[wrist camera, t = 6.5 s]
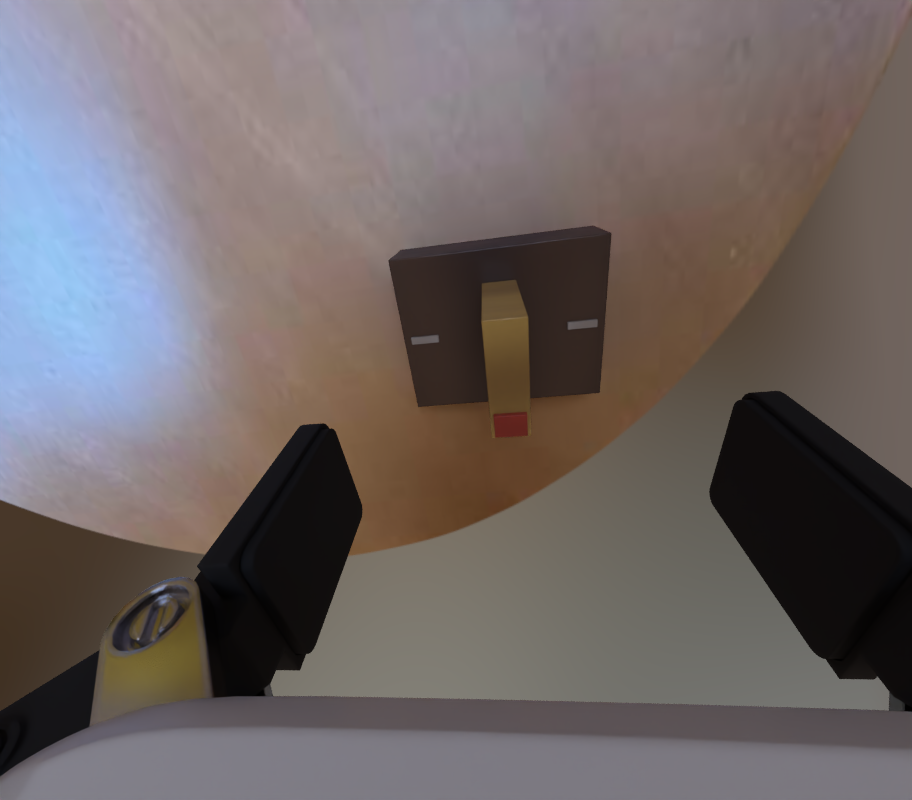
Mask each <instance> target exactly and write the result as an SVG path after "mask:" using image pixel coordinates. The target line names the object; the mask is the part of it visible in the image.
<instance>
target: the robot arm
mask: <svg viewBox="0 0 912 800" xmlns="http://www.w3.org/2000/svg"><path fill="white" fill-rule="evenodd" d="M709 492H710V499H711V502H712V504H713V506H714V507H715V509H716V510H717V512H718V513H719V515H720V516H721V518H722V519H723V520H724V522H725V523H726V525H727V526H728V528H729V529H730V531H731V532H732V534H733V535H734V537H735V538H736V540H737V541H738V543H739V544H740V546H741V547H742V548H743V550H744V551H745V553H746V554H747V556H748V557H749V559H750V560H751V562H752V563H753V565H754V566H755V567H756V569H757V571H758V572H759V573H760V575H761V576H762V578H763V579H764V581H765V582H766V584H767V585H768V587H769V588H770V590H771V591H772V593H773V594H774V595H775V597H776V598H777V600H778V601H779V603H780V604H781V606H782V607H783V609H784V610H785V612H786V613H787V614H788V616H789V617H790V619H791V620H792V622H793V623H794V625H795V626H796V628H797V629H798V631H799V632H800V634H801V635H802V636H803V638H804V640H805V641H806V643H807V644H808V645H809V647H810V648H811V649H812V651H813V652H814V653H815V654H816V655H818V656H819V657H821V658H823V659H826V660H827V662H828V663H829V665H830V666H831V667H832V669H833V670H834V672H835V673H836V674H837V676H838V677H839V679H875V678H876V677H877V676H878V677H879V679H880V680H881V681H882V682H883V683H884V685H885V686H886V688H887V689H888V690H889V711H884V710H857V709H824V708H791V707H757V706H756V707H754V706H721V705H689V704H651V703H611V702H610V703H609V702H569V701H528V700H527V701H526V700H487V699H438V698H384V697H334V696H333V697H332V696H331V697H330V696H273V694H272V690H271V686H270V683H271V681H272V678H273V676H274V674H275V671H276V670H300V669H301V666H302V663H303V661H304V658H305V655H306V654H309V653H310V652H312V650H313V649H314V647H315V645H316V642H317V640H318V637H319V634H320V631H321V629H322V626H323V623H324V620H325V618H326V615H327V612H328V609H329V606H330V603H331V601H332V598H333V595H334V592H335V590H336V587H337V584H338V581H339V578H340V576H341V573H342V571H343V568H344V565H345V562H346V559H347V557H348V554H349V551H350V548H351V546H352V543H353V540H354V537H355V535H356V532H357V529H358V526H359V523H360V521H361V518H362V504H361V501H360V498H359V495H358V492H357V490H356V487H355V484H354V481H353V479H352V476H351V473H350V470H349V467H348V465H347V462H346V459H345V456H344V453H343V451H342V448H341V445H340V442H339V440H338V437H337V434H336V432H335V430H334V429H329V427H328V426H327V425H326V424H324V423H323V424H309V425H302V426H300V427H299V428H298V429H297V431H296V432H295V434H294V435H293V436H292V438H291V439H290V440H289V442H288V443H287V444H286V446H285V447H284V448H283V450H282V451H281V453H280V454H279V455H278V457H277V458H276V459H275V461H274V462H273V463H272V465H271V466H270V468H269V469H268V470H267V472H266V473H265V474H264V476H263V477H262V478H261V480H260V481H259V483H258V484H257V485H256V487H255V488H254V489H253V491H252V492H251V493H250V495H249V496H248V497H247V499H246V500H245V502H244V503H243V504H242V506H241V507H240V508H239V510H238V511H237V512H236V514H235V515H234V517H233V518H232V519H231V521H230V522H229V523H228V525H227V526H226V527H225V529H224V530H223V532H222V533H221V534H220V536H219V537H218V538H217V540H216V541H215V542H214V544H213V545H212V546H211V548H210V549H209V551H208V552H207V553H206V555H205V556H204V557H203V559H202V560H201V561H200V563H199V564H198V566H197V567H198V568H199V569H200V571H201V572H200V573H199V574H198V576H197V577H196V579H195V580H194V581H193V580H192V579H190V578H186V577H177V578H172V579H168V580H165V581H162V582H160V583H158V584H155V585H153V586H151V587H150V588H148V589H146V590H145V591H143V592H142V593H140V594H138V595H137V596H136V597H135V598H134V599H133V600H131V601H130V602H129V603H128V604H126V605H125V606H124V607H123V608H122V609H121V610H120V612H119V613H118V614H117V615H116V616H115V617H114V618H113V620H112V621H111V623H110V624H109V626H108V627H107V629H106V630H105V632H104V635H103V638H102V641H101V644H100V650H99V651H97V652H96V653H94V654H93V655H91V656H89V657H88V658H86V659H84V660H83V661H81V662H79V663H78V664H76V665H75V666H73V667H71V668H70V669H68V670H66V671H65V672H63V673H62V674H60V675H58V676H57V677H55V678H53V679H52V680H50V681H49V682H47V683H45V684H44V685H42V686H40V687H39V688H37V689H36V690H34V691H33V692H31V693H29V694H27V695H26V696H24V697H23V698H21V699H19V700H18V701H16V702H14V703H13V704H11V705H10V706H8V707H6V708H5V709H3V710H1V711H0V800H912V488H911V487H910V486H908V485H907V484H906V483H904V482H903V481H902V480H900V479H899V478H898V477H896V476H895V475H894V474H892V473H891V472H889V471H888V470H887V469H885V468H884V467H883V466H881V465H880V464H879V463H877V462H876V461H875V460H873V459H872V458H870V457H869V456H868V455H867V454H865V453H864V452H863V451H861V450H860V449H859V448H857V447H856V446H854V445H853V444H852V443H850V442H849V441H848V440H846V439H845V438H844V437H842V436H841V435H840V434H838V433H837V432H836V431H834V430H833V429H832V428H830V427H829V426H827V425H826V424H825V423H823V422H822V421H821V420H819V419H818V418H817V417H815V416H814V415H813V414H811V413H810V412H809V411H807V410H806V409H805V408H803V407H802V406H801V405H799V404H798V403H796V402H795V401H794V400H793V399H791V398H790V397H788V396H787V395H786V394H784V393H782V392H780V391H770V392H756V393H748V394H746V395H745V396H744V397H743V398H742V400H739V401H737V402H736V403H735V404H734V407H733V410H732V414H731V417H730V420H729V424H728V428H727V431H726V435H725V438H724V441H723V445H722V448H721V452H720V455H719V459H718V462H717V466H716V469H715V473H714V476H713V479H712V483H711V486H710V491H709Z"/></svg>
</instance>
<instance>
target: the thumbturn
mask: <svg viewBox="0 0 912 800" xmlns="http://www.w3.org/2000/svg"><path fill="white" fill-rule="evenodd" d="M481 323H482V334H483V346H484V357H485V368H486V379H487V390H488V402H489V413H490V424H491V435H492V438H502V437H519V436H531V405H530V366H529V326H528V315H527V312H526V309H525V306H524V303H523V300H522V297H521V294H520V291H519V288H518V285H517V282H516V280H508V281H498V282H489V283H482V308H481Z"/></svg>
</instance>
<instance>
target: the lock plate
mask: <svg viewBox="0 0 912 800" xmlns="http://www.w3.org/2000/svg"><path fill="white" fill-rule="evenodd" d="M610 245H611V233H610V232H608V231H605V230H603V229H600V228H598V227H595V226H587V227H579V228H571V229H563V230H556V231H548V232H540V233H532V234H524V235H516V236H508V237H500V238H493V239H485V240H477V241H469V242H461V243H453V244H445V245H437V246H430V247H422V248H414V249H406V250H400V251H399V252H398V253H397V254H396V255H395V256H393V257H392V258H391V259H390V260H389V266H390V271H391V276H392V281H393V286H394V291H395V295H396V300H397V305H398V310H399V315H400V320H401V325H402V330H403V334H404V339H405V344H406V349H407V354H408V359H409V364H410V369H411V373H412V378H413V383H414V388H415V393H416V398H417V403H418V407H422V406H435V405H448V404H461V403H474V402H487V401H488V390H487V379H486V368H485V357H484V346H483V334H482V323H481V308H482V283H489V282H498V281H508V280H516V282H517V285H518V288H519V291H520V294H521V297H522V300H523V303H524V306H525V309H526V312H527V315H528V326H529V366H530V398H539V397H552V396H564V395H577V394H590V393H599V392H600V382H601V368H602V354H603V341H604V327H605V313H606V300H607V286H608V272H609V258H610Z"/></svg>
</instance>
